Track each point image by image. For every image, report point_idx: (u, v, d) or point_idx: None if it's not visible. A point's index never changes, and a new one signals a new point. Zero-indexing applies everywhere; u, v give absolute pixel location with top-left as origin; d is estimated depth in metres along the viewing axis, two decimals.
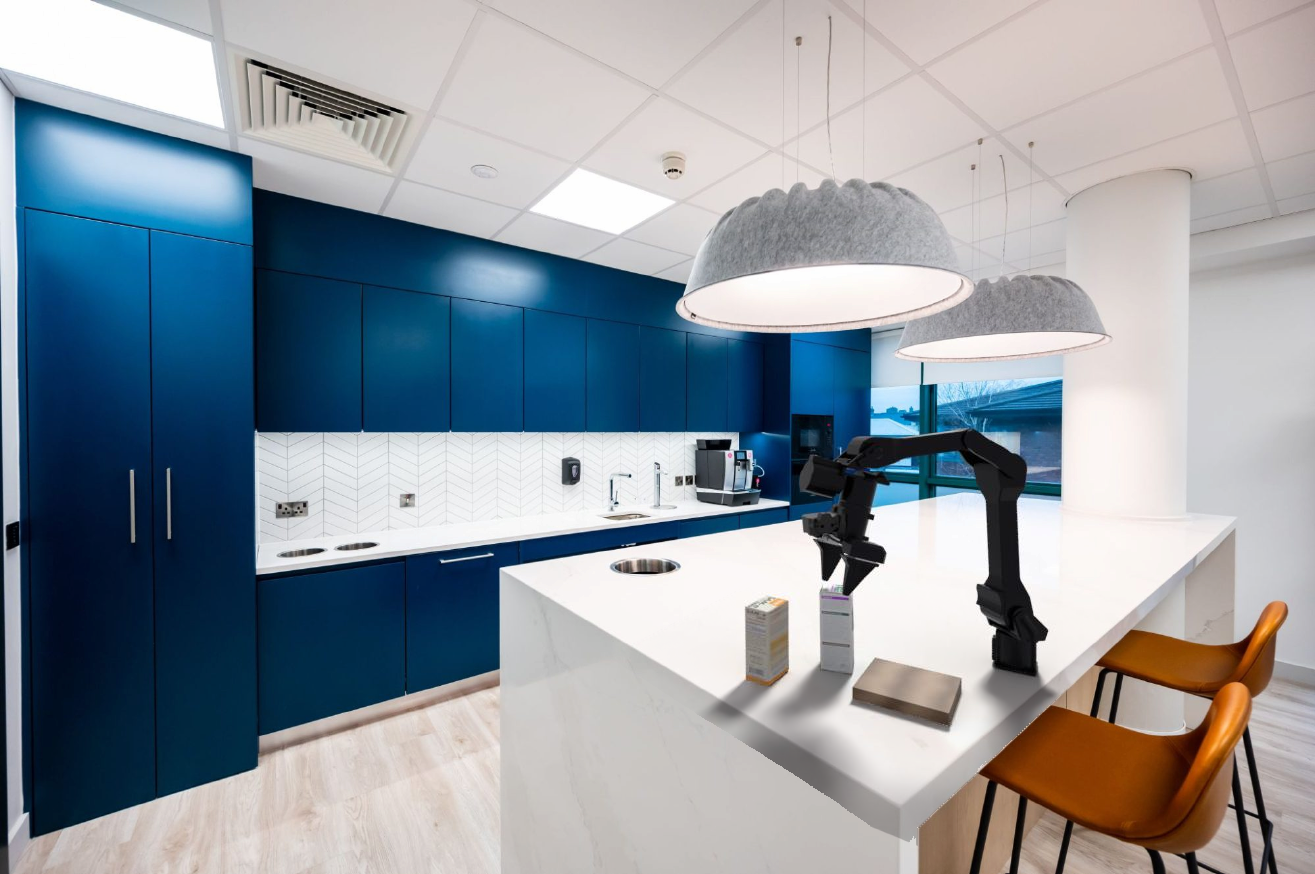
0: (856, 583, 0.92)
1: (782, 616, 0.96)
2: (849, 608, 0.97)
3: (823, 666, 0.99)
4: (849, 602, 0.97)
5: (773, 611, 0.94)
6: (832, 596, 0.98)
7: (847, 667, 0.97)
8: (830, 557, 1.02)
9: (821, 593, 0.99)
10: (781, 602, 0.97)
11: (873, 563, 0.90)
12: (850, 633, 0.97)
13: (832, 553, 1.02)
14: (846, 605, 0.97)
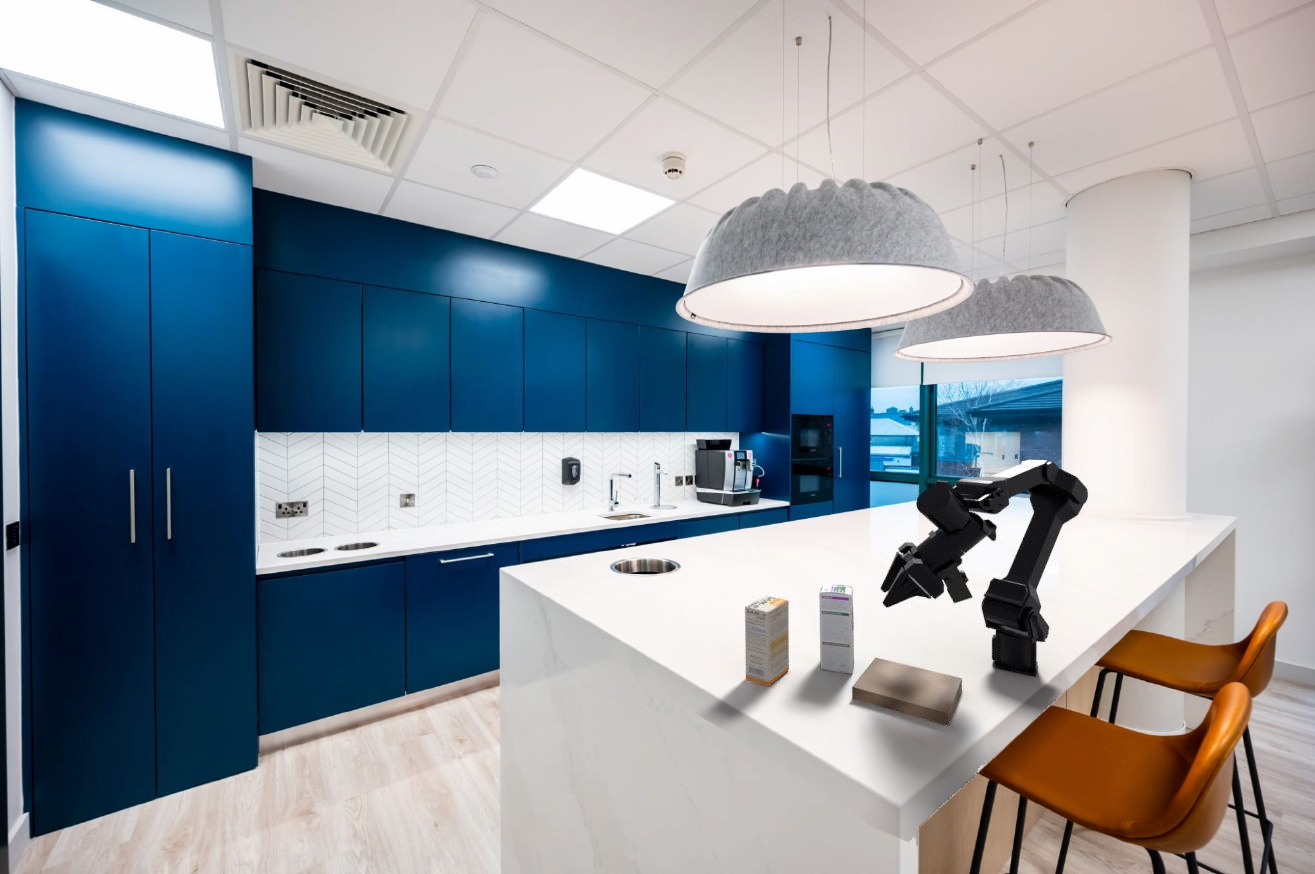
0: None
1: (782, 616, 0.96)
2: (849, 608, 0.97)
3: (823, 666, 0.99)
4: (849, 602, 0.97)
5: (773, 611, 0.94)
6: (832, 596, 0.98)
7: (847, 667, 0.97)
8: None
9: (821, 593, 0.99)
10: (781, 602, 0.97)
11: None
12: (850, 633, 0.97)
13: None
14: (846, 605, 0.97)
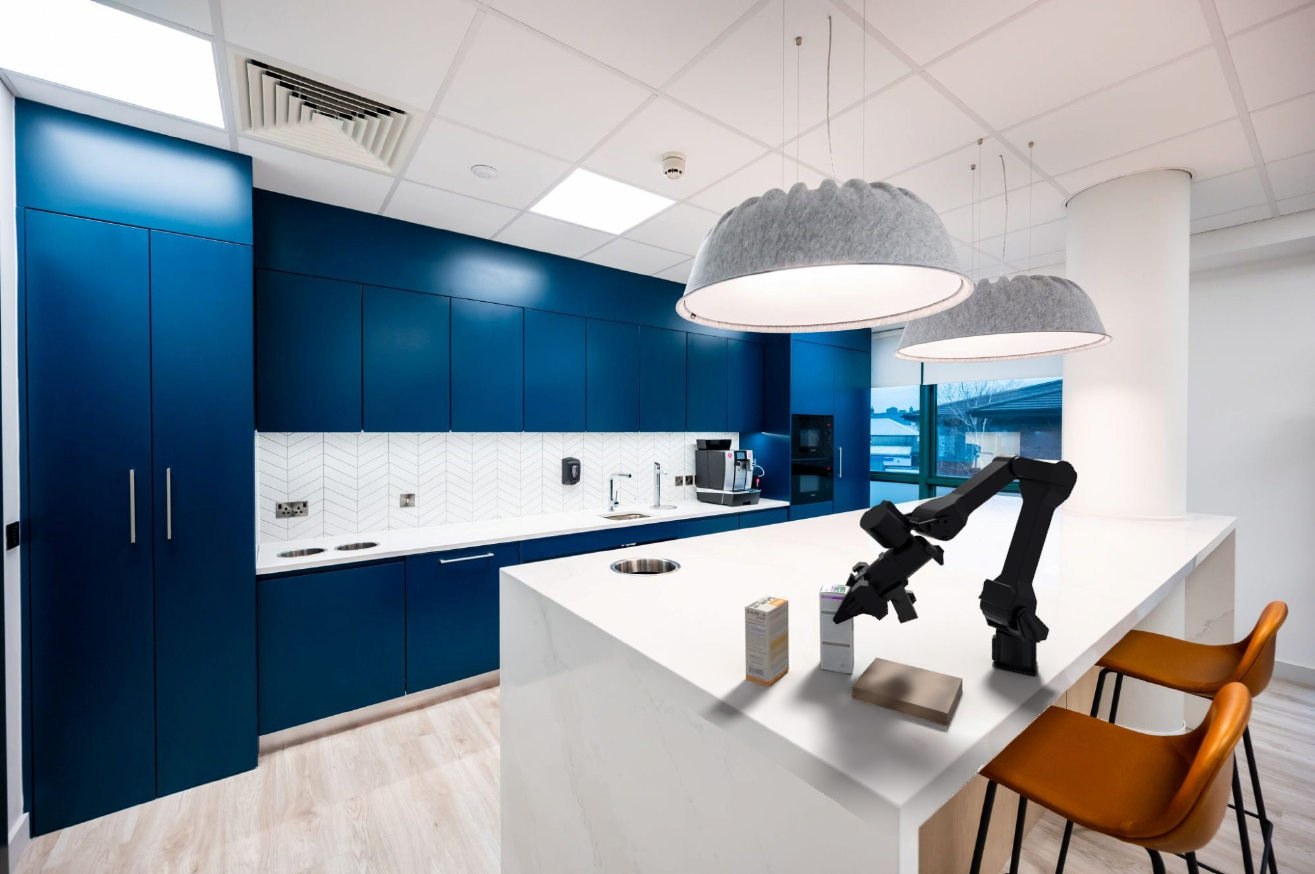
0: None
1: (782, 616, 0.96)
2: None
3: (823, 666, 0.99)
4: None
5: (773, 611, 0.94)
6: (832, 596, 0.98)
7: (847, 667, 0.97)
8: None
9: (821, 593, 0.99)
10: (781, 602, 0.97)
11: (855, 577, 1.05)
12: (850, 633, 0.97)
13: None
14: None
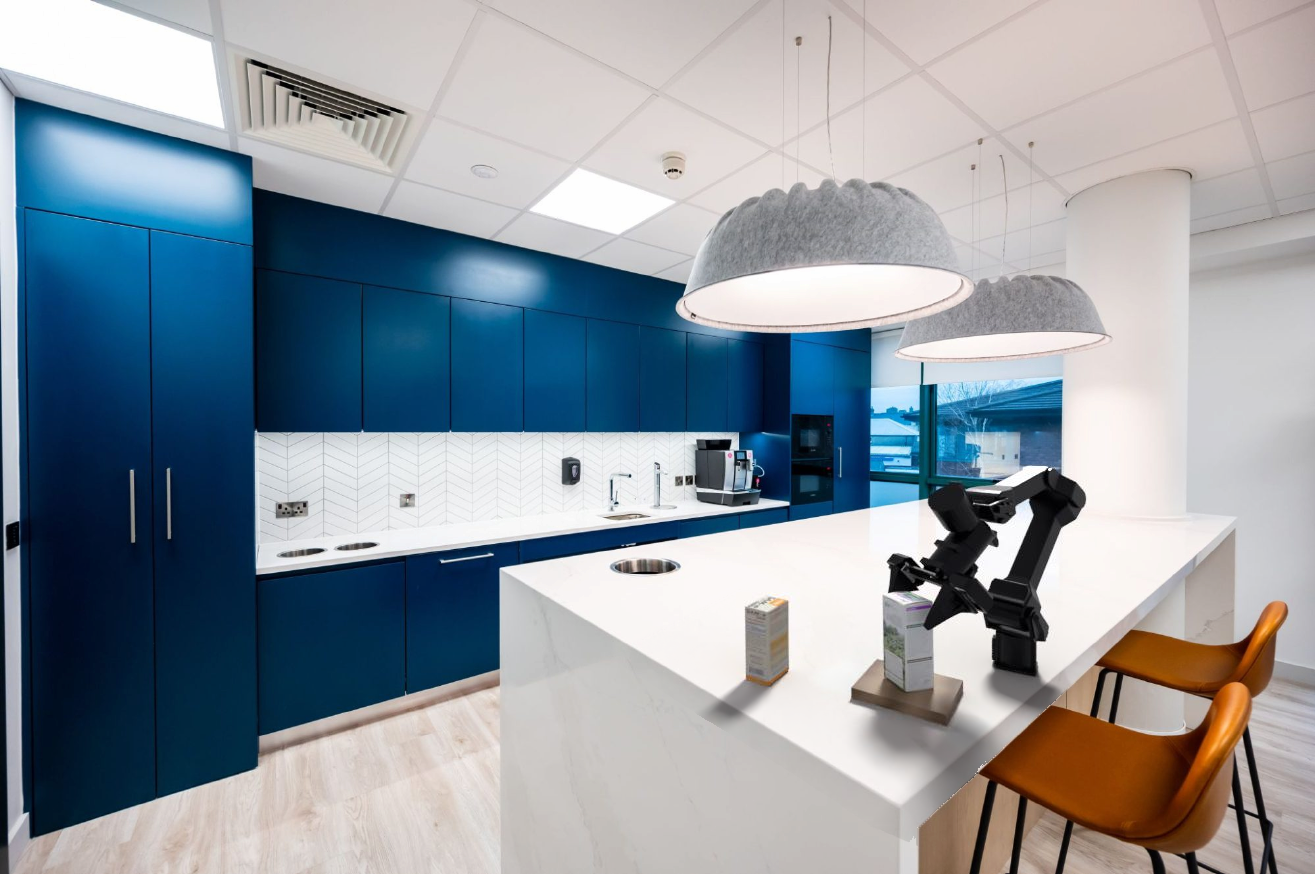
0: None
1: (782, 616, 0.96)
2: None
3: (908, 688, 0.87)
4: None
5: (773, 611, 0.94)
6: (916, 607, 0.87)
7: (929, 682, 0.88)
8: None
9: (905, 605, 0.86)
10: (781, 602, 0.97)
11: None
12: (932, 643, 0.88)
13: None
14: None
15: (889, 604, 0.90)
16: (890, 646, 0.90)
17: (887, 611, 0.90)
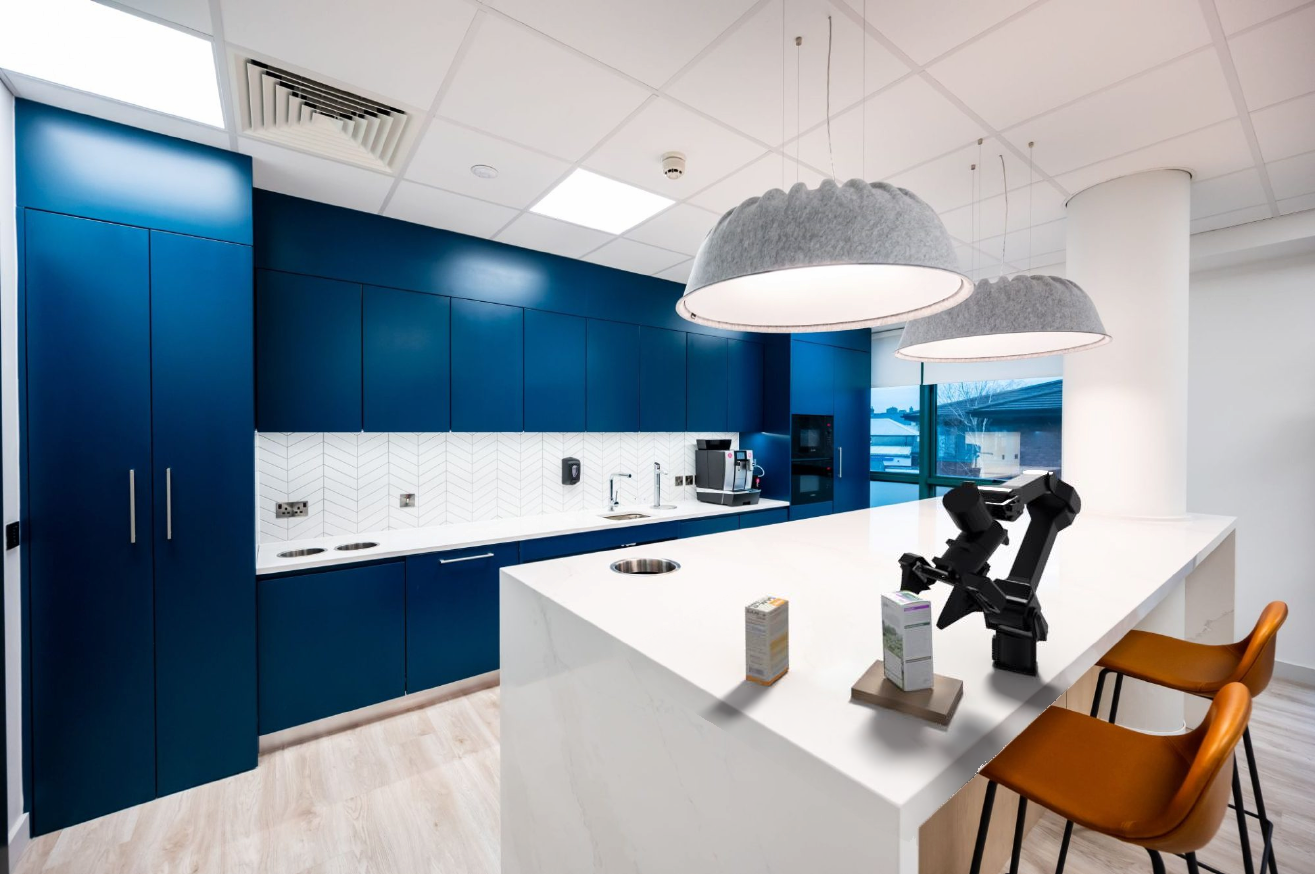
0: None
1: (782, 616, 0.96)
2: (930, 616, 0.87)
3: (907, 687, 0.87)
4: (930, 609, 0.87)
5: (773, 611, 0.94)
6: (914, 607, 0.87)
7: (929, 681, 0.88)
8: None
9: (903, 606, 0.86)
10: (781, 602, 0.97)
11: None
12: (931, 643, 0.87)
13: None
14: (927, 613, 0.87)
15: (887, 604, 0.90)
16: (889, 646, 0.90)
17: (886, 611, 0.90)
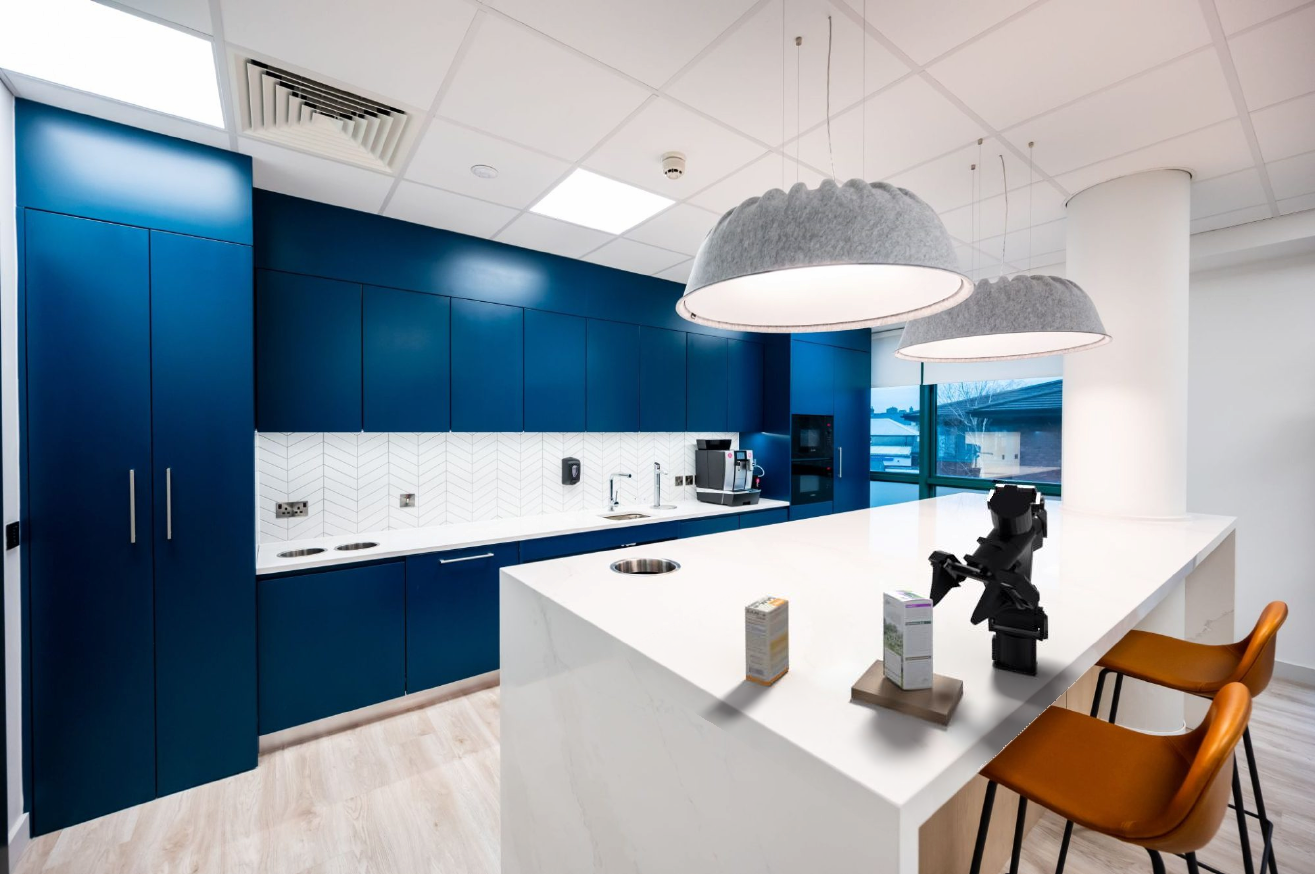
0: None
1: (782, 616, 0.96)
2: (931, 615, 0.88)
3: (906, 686, 0.87)
4: (931, 608, 0.88)
5: (773, 611, 0.94)
6: (916, 604, 0.87)
7: (928, 681, 0.88)
8: None
9: (905, 602, 0.87)
10: (781, 602, 0.97)
11: None
12: (932, 642, 0.88)
13: None
14: (928, 612, 0.88)
15: (889, 602, 0.91)
16: (890, 644, 0.90)
17: (887, 608, 0.91)
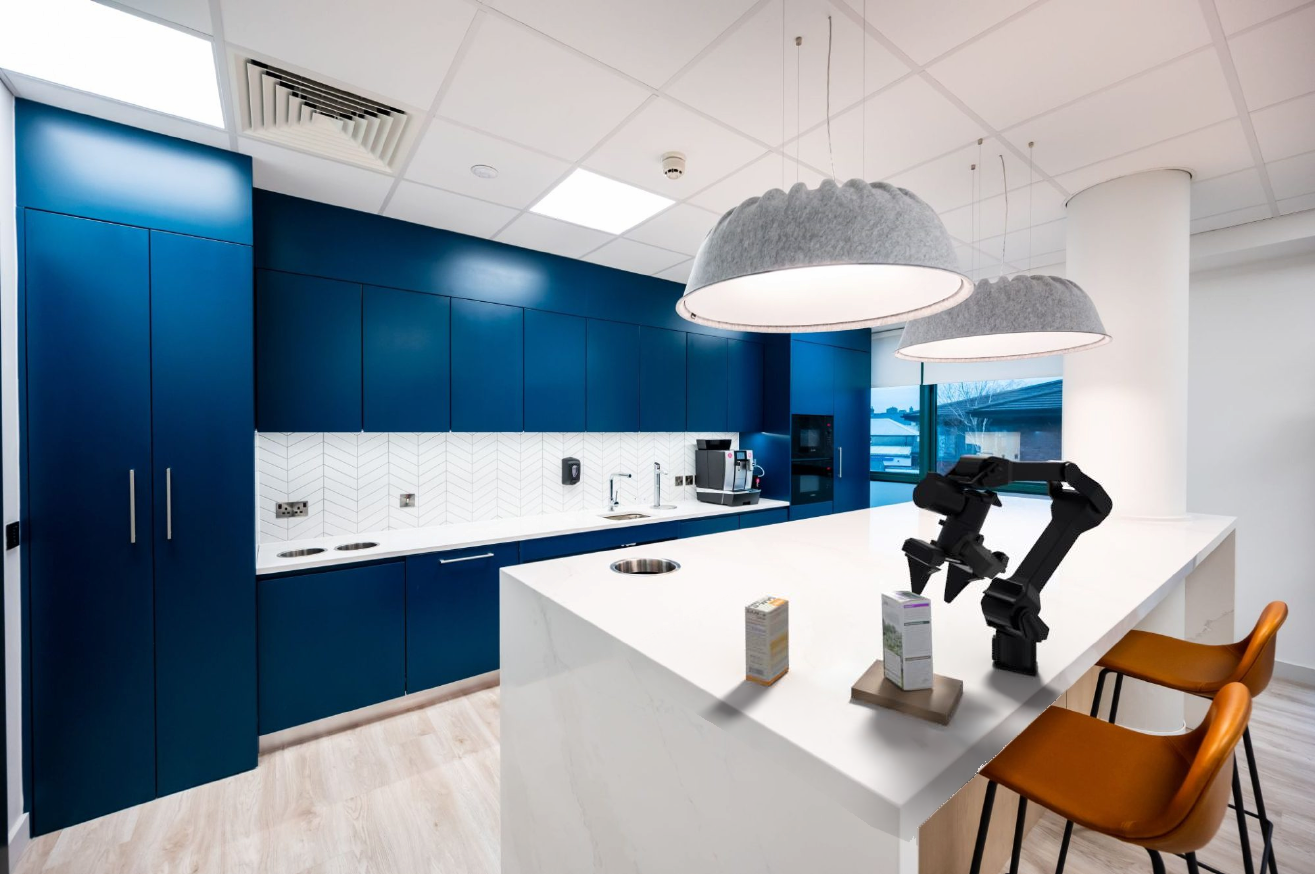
0: None
1: (782, 616, 0.96)
2: (929, 615, 0.88)
3: (906, 686, 0.87)
4: (929, 608, 0.88)
5: (773, 611, 0.94)
6: (914, 604, 0.87)
7: (929, 681, 0.88)
8: None
9: (902, 603, 0.87)
10: (781, 602, 0.97)
11: None
12: (931, 642, 0.88)
13: None
14: (927, 612, 0.88)
15: (887, 602, 0.91)
16: (889, 645, 0.90)
17: (886, 609, 0.91)
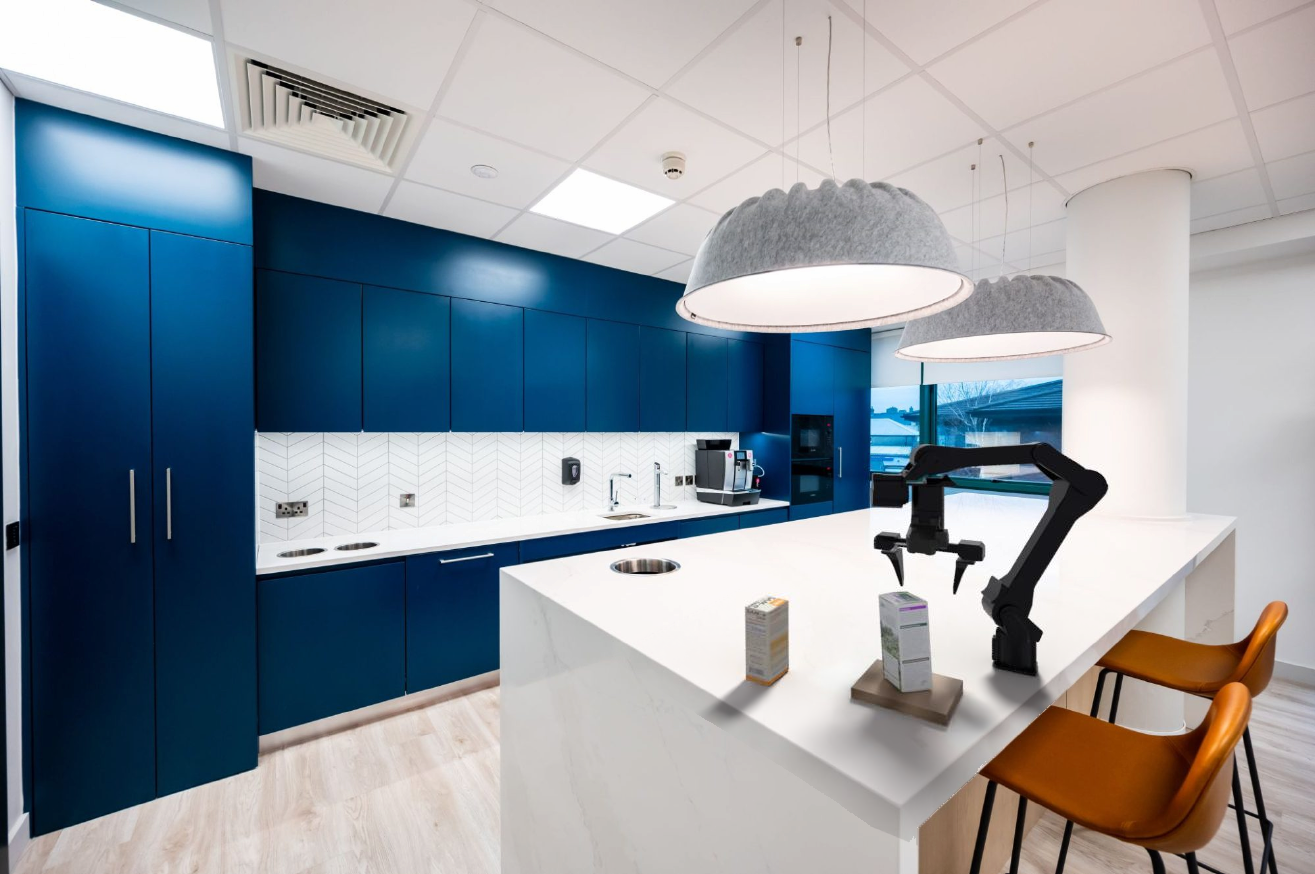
0: None
1: (782, 616, 0.96)
2: (927, 617, 0.87)
3: (904, 688, 0.86)
4: (926, 610, 0.87)
5: (773, 611, 0.94)
6: (910, 607, 0.86)
7: (927, 683, 0.87)
8: (900, 563, 1.07)
9: (898, 606, 0.86)
10: (781, 602, 0.97)
11: None
12: (929, 644, 0.87)
13: (900, 558, 1.07)
14: (924, 614, 0.87)
15: (884, 605, 0.90)
16: (887, 647, 0.90)
17: (883, 611, 0.90)
